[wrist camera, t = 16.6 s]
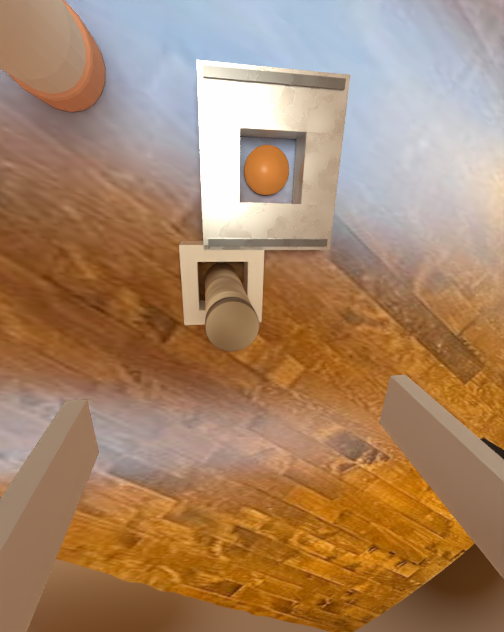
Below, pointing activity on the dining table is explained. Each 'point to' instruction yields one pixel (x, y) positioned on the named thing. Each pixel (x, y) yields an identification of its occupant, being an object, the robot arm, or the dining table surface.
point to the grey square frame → (273, 122)
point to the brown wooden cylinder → (228, 310)
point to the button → (266, 170)
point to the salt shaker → (50, 53)
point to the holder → (195, 253)
